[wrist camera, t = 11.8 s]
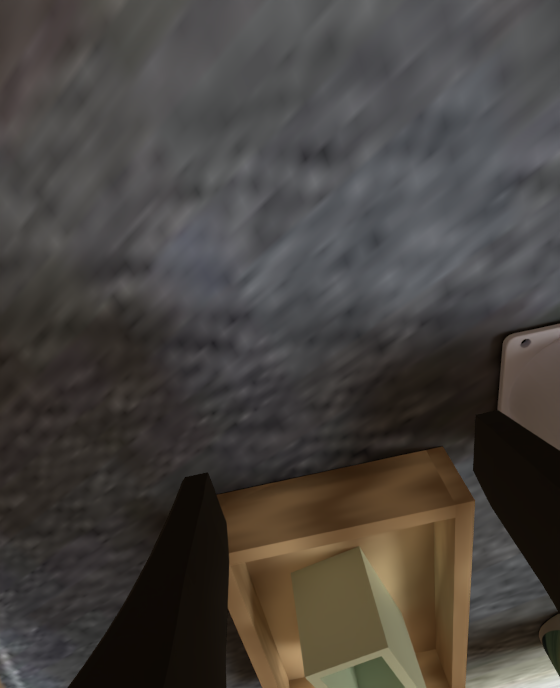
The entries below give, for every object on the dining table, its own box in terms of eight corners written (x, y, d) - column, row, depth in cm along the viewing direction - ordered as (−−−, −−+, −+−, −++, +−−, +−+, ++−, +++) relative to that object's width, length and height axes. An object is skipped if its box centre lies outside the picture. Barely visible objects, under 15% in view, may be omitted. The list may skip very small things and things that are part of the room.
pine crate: (442, 446, 27) (474, 500, 23) (442, 639, 38) (464, 695, 35) (208, 496, 27) (205, 558, 23) (277, 675, 38) (282, 734, 35)
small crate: (359, 546, 29) (388, 647, 24) (401, 613, 33) (434, 710, 28) (290, 572, 30) (304, 677, 25) (341, 635, 34) (362, 734, 29)
